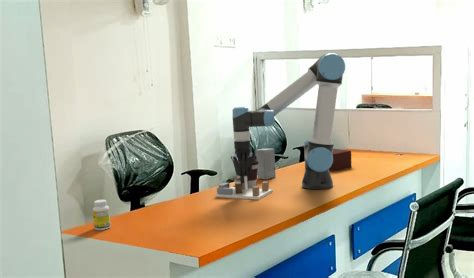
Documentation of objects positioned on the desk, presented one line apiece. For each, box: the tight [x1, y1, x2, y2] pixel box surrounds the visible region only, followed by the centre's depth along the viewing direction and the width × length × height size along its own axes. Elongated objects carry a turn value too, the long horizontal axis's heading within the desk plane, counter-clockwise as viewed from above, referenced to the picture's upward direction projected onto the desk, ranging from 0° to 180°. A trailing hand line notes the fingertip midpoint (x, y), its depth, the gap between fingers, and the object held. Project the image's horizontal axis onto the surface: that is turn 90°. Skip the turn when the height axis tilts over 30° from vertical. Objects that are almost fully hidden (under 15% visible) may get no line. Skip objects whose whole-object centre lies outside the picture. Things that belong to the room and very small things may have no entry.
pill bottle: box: [92, 199, 111, 231], centre depth 217 cm, size 6×6×11 cm
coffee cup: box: [238, 157, 258, 188], centre depth 277 cm, size 10×10×15 cm
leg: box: [234, 176, 242, 194], centre depth 266 cm, size 14×3×5 cm, turn 1°
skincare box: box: [255, 147, 276, 180], centre depth 300 cm, size 8×7×16 cm
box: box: [329, 148, 353, 172], centre depth 322 cm, size 21×16×10 cm
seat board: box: [215, 181, 273, 200], centre depth 264 cm, size 22×16×5 cm
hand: (244, 189), depth 263 cm, fingers closed
